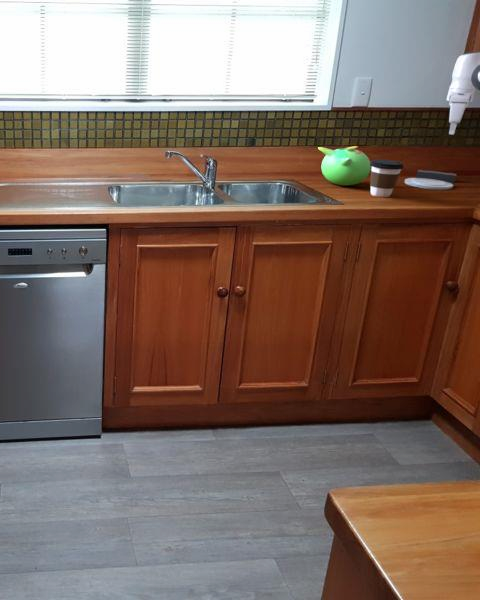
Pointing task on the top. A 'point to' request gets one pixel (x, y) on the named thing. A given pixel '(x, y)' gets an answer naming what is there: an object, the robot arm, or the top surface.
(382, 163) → the coffee cup
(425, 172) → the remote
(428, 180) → the plate
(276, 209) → the top surface
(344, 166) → the toy bird
